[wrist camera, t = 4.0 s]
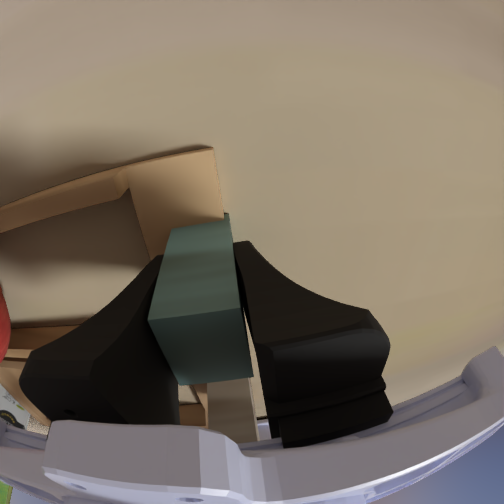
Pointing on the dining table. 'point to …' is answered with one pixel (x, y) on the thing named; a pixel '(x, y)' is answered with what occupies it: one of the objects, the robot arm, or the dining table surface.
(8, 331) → the red round piece
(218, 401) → the lane empty
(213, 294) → the wooden divided tray
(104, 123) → the dining table surface
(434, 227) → the dining table surface
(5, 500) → the tea box
